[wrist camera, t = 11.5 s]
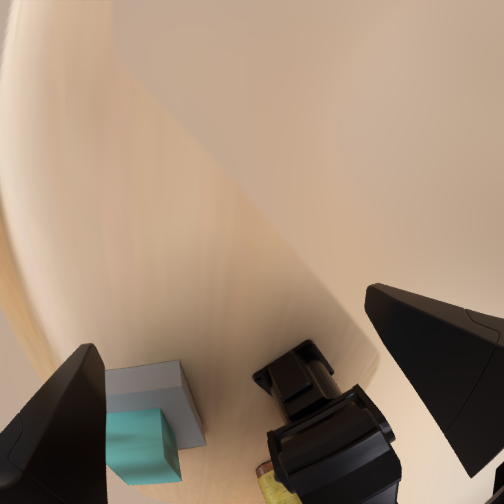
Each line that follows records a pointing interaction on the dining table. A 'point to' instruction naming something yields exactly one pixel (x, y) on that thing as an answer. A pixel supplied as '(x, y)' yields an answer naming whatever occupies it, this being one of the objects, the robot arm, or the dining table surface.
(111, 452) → the teal cube
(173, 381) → the gray plinth
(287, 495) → the sauce bottle
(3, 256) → the dining table surface
